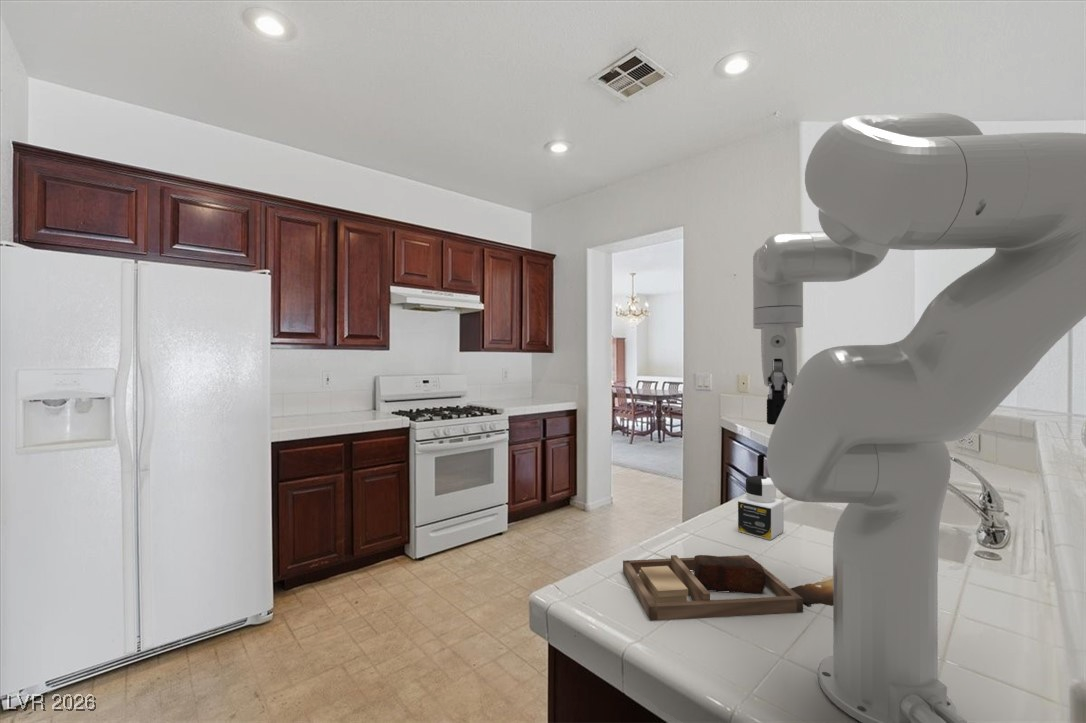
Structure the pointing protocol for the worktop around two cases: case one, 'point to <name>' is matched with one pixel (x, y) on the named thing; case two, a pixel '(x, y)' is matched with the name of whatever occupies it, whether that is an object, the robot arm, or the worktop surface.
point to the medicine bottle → (761, 509)
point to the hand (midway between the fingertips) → (777, 420)
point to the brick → (729, 574)
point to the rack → (707, 594)
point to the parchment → (816, 592)
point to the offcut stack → (663, 584)
